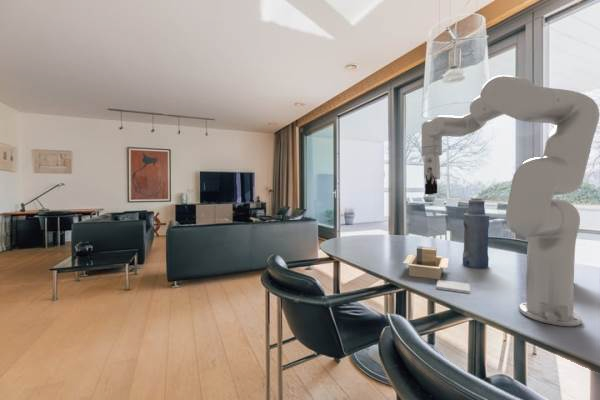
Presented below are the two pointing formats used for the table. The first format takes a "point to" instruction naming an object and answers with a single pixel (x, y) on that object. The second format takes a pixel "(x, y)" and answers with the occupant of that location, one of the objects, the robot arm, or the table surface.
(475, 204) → the bottle
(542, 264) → the robot arm
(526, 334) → the table surface
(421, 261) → the block
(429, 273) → the carton
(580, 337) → the table surface
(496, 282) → the table surface
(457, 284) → the felt mat
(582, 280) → the table surface
